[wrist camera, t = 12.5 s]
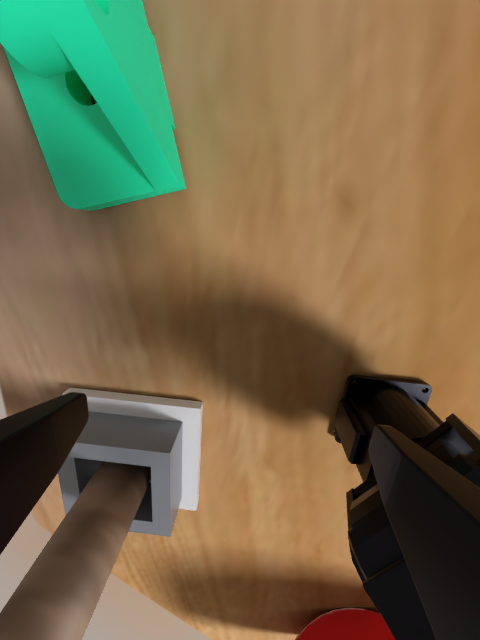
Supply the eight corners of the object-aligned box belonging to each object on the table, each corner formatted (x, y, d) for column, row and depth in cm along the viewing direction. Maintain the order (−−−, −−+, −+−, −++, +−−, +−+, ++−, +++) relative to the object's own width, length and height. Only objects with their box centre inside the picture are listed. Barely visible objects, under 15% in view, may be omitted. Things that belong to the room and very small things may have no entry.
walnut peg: (166, 455, 25) (81, 664, 13) (142, 482, 26) (44, 695, 14) (125, 429, 24) (-5, 623, 12) (102, 458, 25) (-36, 661, 13)
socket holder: (202, 401, 24) (190, 439, 19) (198, 501, 28) (187, 550, 23) (69, 387, 24) (29, 421, 20) (83, 487, 28) (52, 533, 24)
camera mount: (15, -1, 16) (-373, -367, 6) (136, -43, 15) (-93, -555, 5) (89, 214, 19) (-80, 199, 10) (190, 191, 19) (115, 148, 9)
